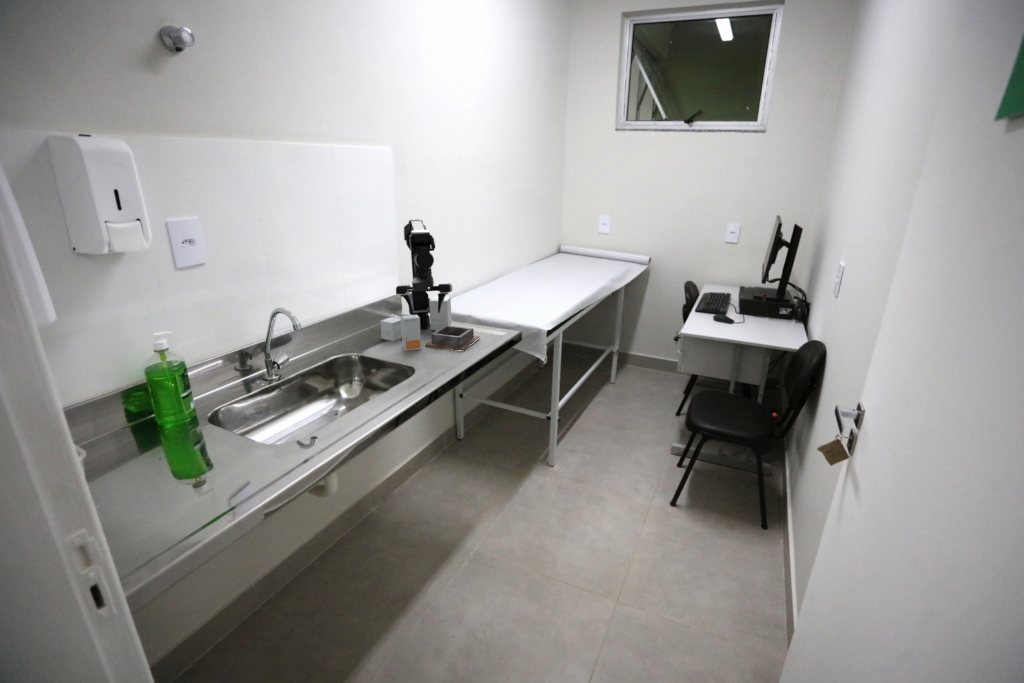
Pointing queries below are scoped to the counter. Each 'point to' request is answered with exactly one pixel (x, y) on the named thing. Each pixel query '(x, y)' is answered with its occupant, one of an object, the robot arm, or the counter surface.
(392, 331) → the skincare box
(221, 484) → the counter surface
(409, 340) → the skincare box
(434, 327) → the supplement box
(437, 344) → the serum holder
